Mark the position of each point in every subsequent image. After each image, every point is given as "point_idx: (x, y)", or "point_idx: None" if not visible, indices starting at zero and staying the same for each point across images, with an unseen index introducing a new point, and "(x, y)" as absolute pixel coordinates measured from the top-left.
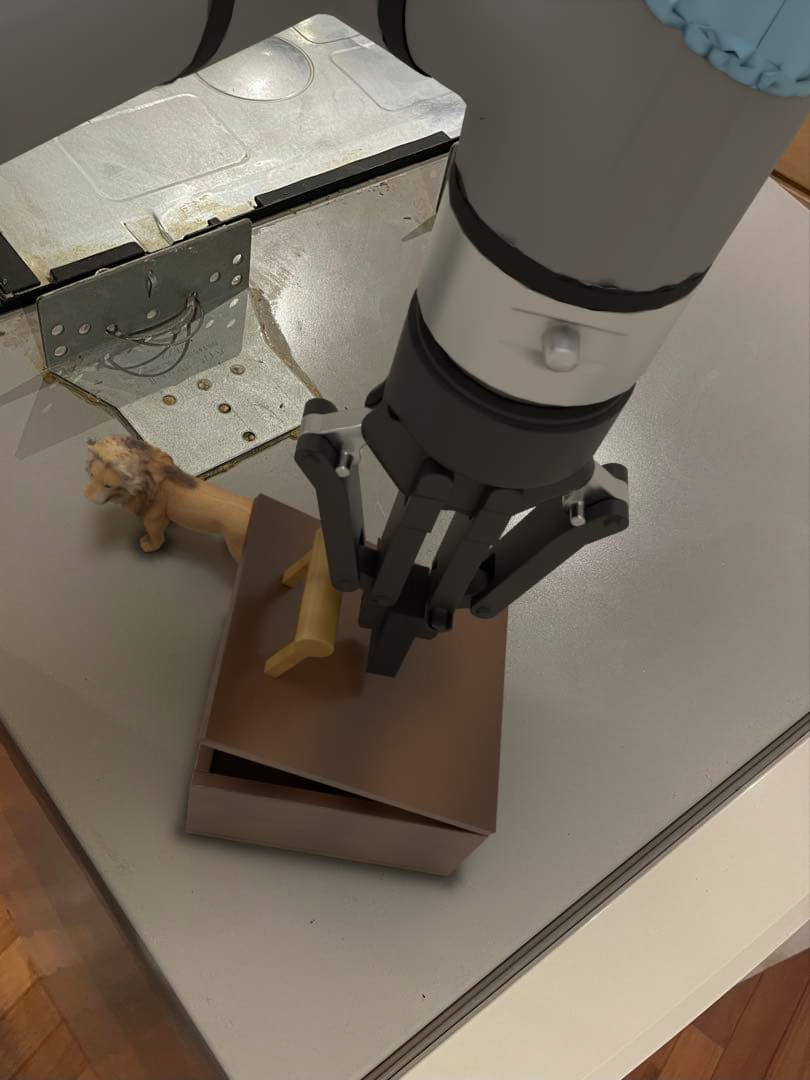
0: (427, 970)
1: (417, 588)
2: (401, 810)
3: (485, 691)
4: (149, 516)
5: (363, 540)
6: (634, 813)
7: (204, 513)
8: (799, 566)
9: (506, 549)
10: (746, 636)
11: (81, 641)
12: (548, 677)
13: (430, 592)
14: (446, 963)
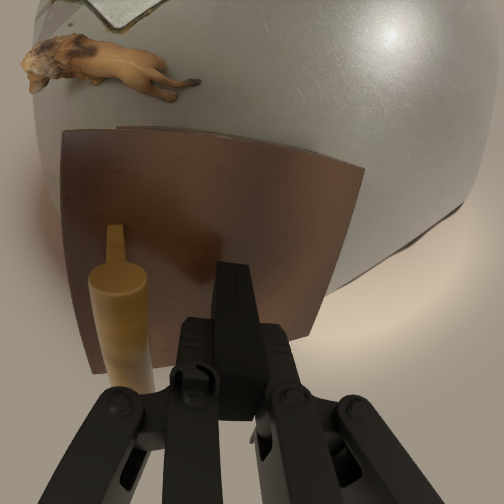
0: None
1: (246, 399)
2: None
3: (327, 254)
4: (77, 77)
5: (135, 439)
6: (388, 242)
7: (104, 71)
8: (490, 119)
9: (373, 501)
10: (465, 151)
11: None
12: (368, 160)
13: (260, 431)
14: None
